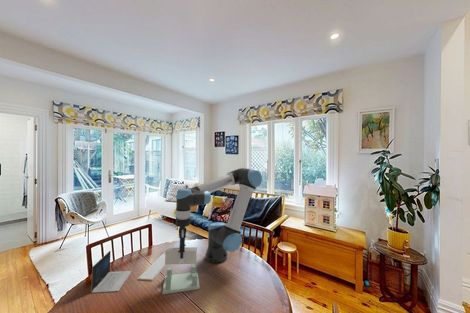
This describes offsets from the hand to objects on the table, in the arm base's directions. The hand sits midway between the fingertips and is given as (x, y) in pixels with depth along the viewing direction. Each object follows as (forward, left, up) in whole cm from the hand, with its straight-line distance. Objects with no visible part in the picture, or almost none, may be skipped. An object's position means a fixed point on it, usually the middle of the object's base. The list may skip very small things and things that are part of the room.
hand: (181, 261), depth 107 cm
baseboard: (+15, -22, -12) cm, 29 cm away
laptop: (+35, -10, -12) cm, 39 cm away
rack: (0, 0, -12) cm, 12 cm away
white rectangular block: (0, 0, 0) cm, 1 cm away
